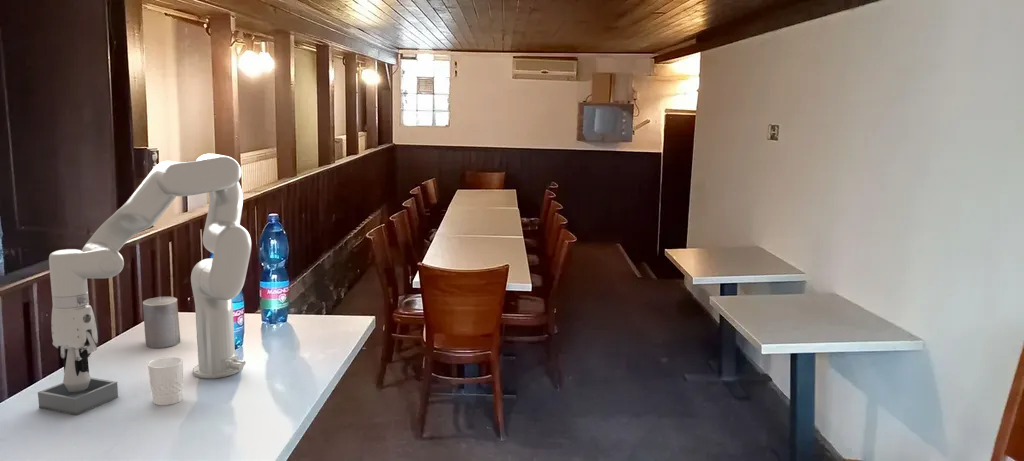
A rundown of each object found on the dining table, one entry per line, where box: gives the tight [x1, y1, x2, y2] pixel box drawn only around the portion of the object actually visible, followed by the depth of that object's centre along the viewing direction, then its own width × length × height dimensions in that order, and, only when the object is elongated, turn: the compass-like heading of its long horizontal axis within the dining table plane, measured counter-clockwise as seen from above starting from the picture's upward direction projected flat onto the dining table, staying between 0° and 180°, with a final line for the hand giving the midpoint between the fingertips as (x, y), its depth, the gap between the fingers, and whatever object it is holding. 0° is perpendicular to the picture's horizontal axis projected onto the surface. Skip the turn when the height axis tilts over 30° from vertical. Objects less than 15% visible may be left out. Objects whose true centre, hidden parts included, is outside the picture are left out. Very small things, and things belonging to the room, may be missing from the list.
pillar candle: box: [142, 296, 181, 349], centre depth 227 cm, size 10×10×15 cm
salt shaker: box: [62, 345, 91, 392], centre depth 182 cm, size 6×6×13 cm
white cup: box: [147, 356, 184, 406], centre depth 185 cm, size 8×8×10 cm
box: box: [37, 376, 119, 416], centre depth 183 cm, size 12×12×4 cm
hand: (76, 372), depth 182 cm, fingers closed on salt shaker, 3 cm apart
